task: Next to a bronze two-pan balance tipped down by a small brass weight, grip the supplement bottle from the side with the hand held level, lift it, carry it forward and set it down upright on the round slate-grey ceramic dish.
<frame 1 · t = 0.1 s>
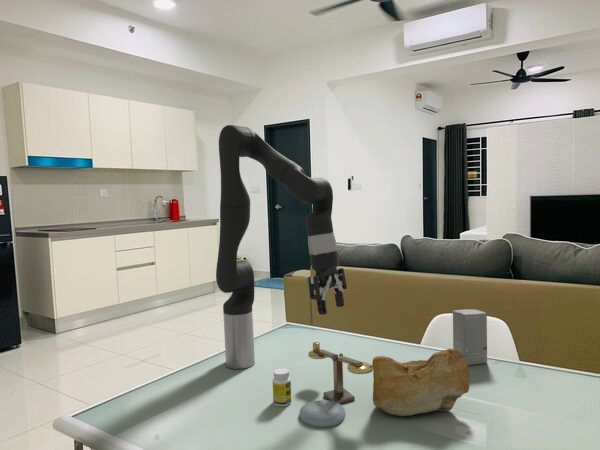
hand: (332, 310, 119), 22 cm above the table, tool pointing down, fingers open, 8 cm apart
balance: (338, 398, 116), on the table
dish: (322, 415, 107), on the table
skincare box: (470, 361, 137), on the table
supplement bottle: (282, 403, 115), on the table
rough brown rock: (417, 404, 111), on the table
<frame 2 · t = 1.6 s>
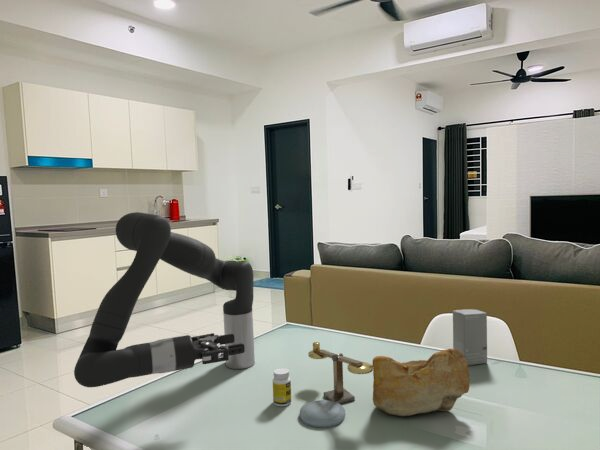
hand: (238, 342, 109), 18 cm above the table, tool horizontal, fingers open, 8 cm apart
nothing on the table moved.
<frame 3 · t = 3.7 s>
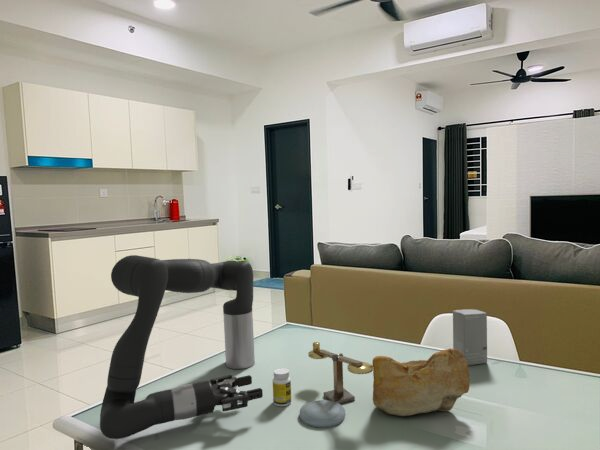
hand: (256, 385, 111), 6 cm above the table, tool horizontal, fingers open, 8 cm apart
nothing on the table moved.
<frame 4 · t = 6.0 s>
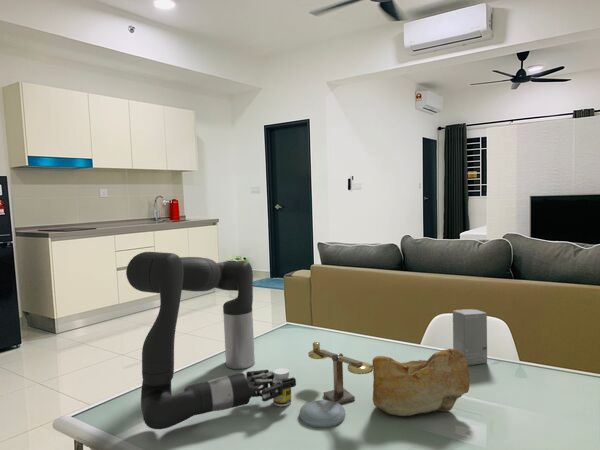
hand: (290, 377, 115), 6 cm above the table, tool horizontal, fingers closed on supplement bottle, 4 cm apart
supplement bottle: (282, 403, 115), on the table, touching gripper
everything else where it was.
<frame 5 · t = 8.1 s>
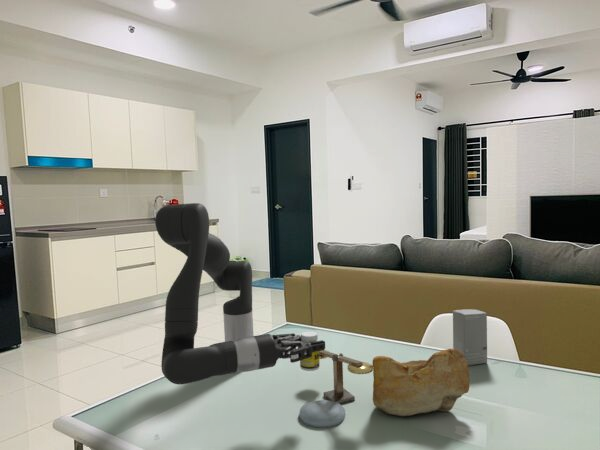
hand: (319, 341, 108), 18 cm above the table, tool horizontal, fingers closed on supplement bottle, 4 cm apart
supplement bottle: (310, 368, 107), point 12 cm above the table, touching gripper
everything else where it was.
when the fingers open (8 cm above the table, at t = 10.5 s): supplement bottle stays where it is, resting on dish.
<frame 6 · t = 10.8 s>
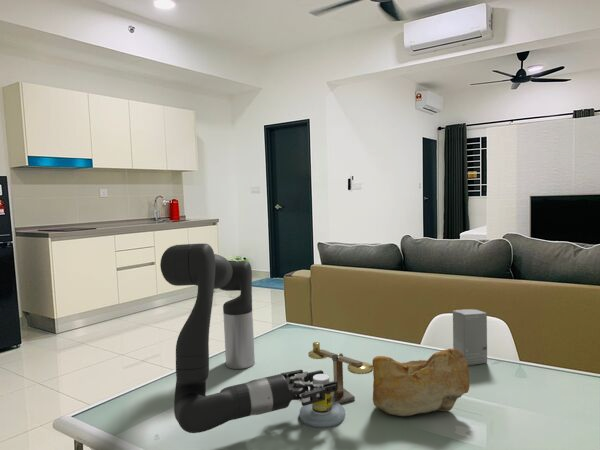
hand: (329, 379, 107), 8 cm above the table, tool horizontal, fingers open, 6 cm apart
supplement bottle: (322, 411, 107), point 1 cm above the table, touching dish
everything else where it was.
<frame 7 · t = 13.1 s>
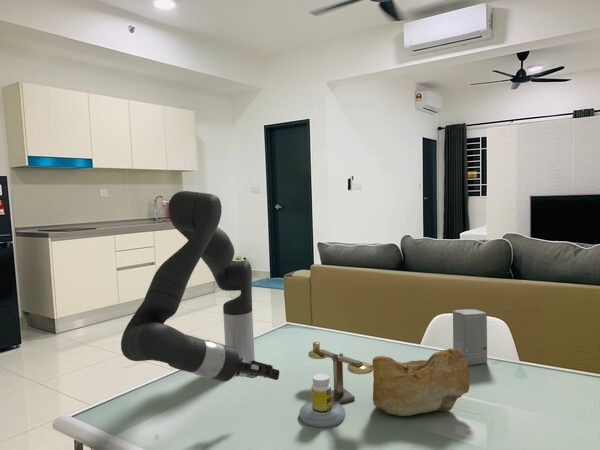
hand: (265, 374, 106), 11 cm above the table, tool tilted 60°, fingers open, 8 cm apart
nothing on the table moved.
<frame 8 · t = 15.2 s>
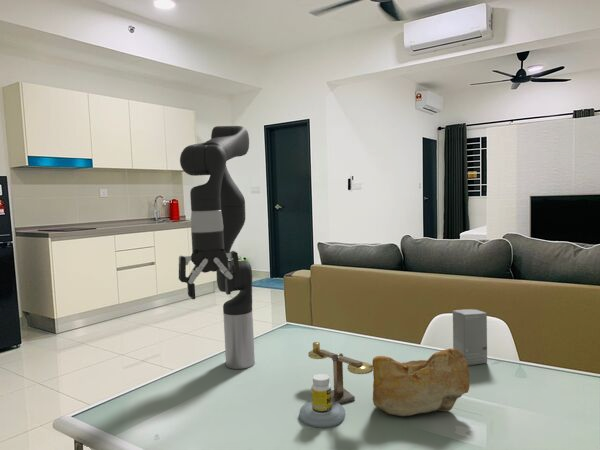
hand: (210, 296, 106), 30 cm above the table, tool pointing down, fingers open, 8 cm apart
nothing on the table moved.
at the end: supplement bottle 0.2 cm from the dish (horizontally); supplement bottle tilted 0°; the gripper is holding nothing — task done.
